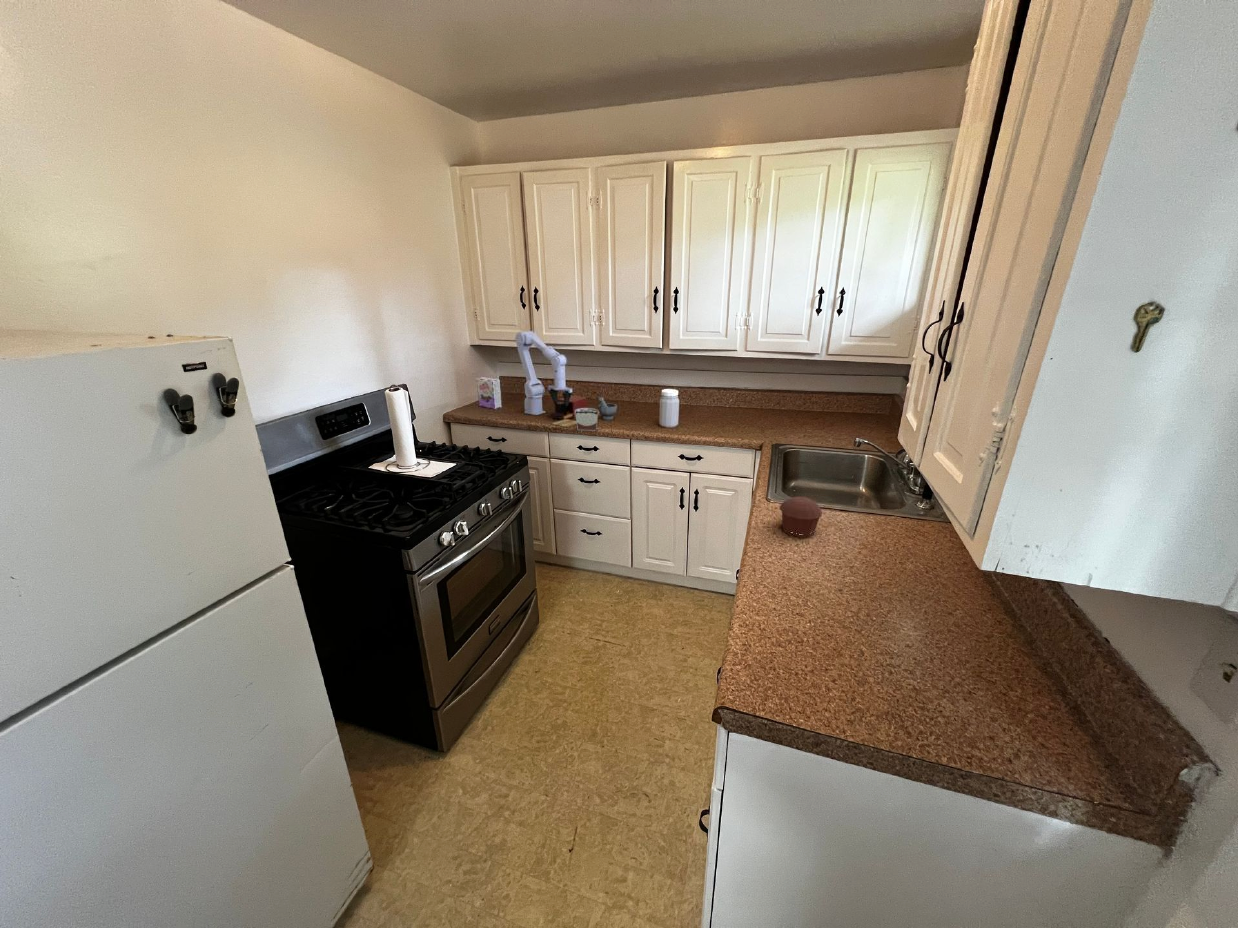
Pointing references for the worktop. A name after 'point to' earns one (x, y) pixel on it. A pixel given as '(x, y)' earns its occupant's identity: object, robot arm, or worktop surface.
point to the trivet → (565, 423)
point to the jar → (669, 408)
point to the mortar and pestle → (607, 409)
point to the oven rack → (560, 415)
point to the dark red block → (575, 404)
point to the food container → (586, 418)
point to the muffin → (800, 516)
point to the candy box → (489, 392)
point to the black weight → (561, 408)
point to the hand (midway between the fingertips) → (560, 404)
